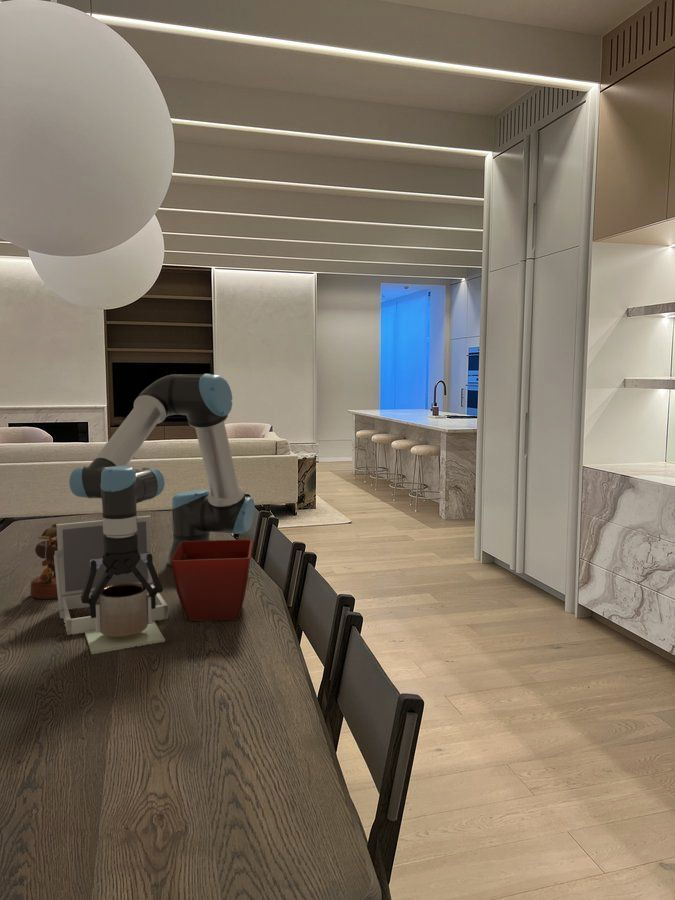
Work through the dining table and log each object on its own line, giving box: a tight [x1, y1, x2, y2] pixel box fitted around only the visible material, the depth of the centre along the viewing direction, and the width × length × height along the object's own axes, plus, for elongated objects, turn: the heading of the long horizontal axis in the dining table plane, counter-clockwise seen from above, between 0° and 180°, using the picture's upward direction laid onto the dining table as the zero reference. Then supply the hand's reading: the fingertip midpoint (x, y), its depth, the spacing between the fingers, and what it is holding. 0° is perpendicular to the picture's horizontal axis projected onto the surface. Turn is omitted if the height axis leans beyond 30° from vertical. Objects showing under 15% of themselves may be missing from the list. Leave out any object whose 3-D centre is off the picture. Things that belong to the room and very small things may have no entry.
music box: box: [30, 522, 58, 600], centre depth 189 cm, size 15×11×20 cm
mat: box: [84, 620, 166, 655], centre depth 158 cm, size 16×13×1 cm
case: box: [54, 515, 169, 636], centre depth 172 cm, size 25×20×22 cm
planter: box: [98, 583, 148, 638], centre depth 158 cm, size 11×11×10 cm
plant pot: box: [170, 539, 253, 622], centre depth 174 cm, size 19×19×17 cm
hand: (123, 626), depth 158 cm, fingers closed on planter, 11 cm apart
